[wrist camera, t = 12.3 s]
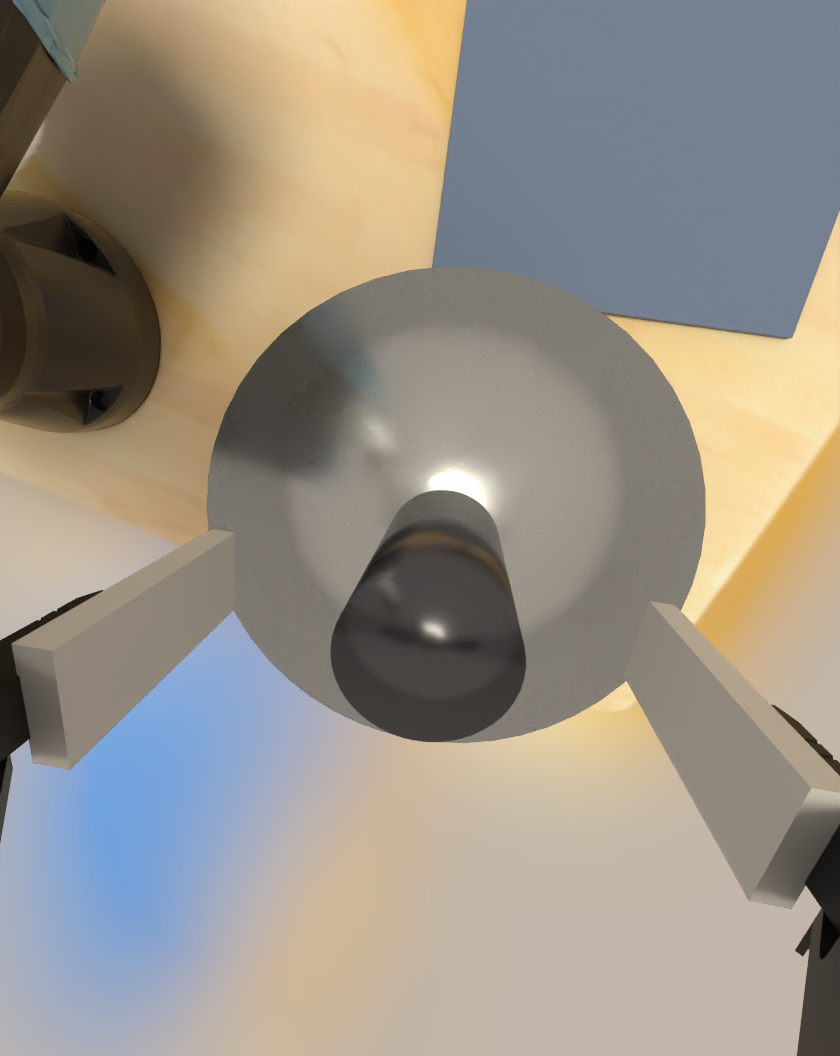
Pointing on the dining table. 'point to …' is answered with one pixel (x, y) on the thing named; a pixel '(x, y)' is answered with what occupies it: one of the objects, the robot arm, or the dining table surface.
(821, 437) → the dining table surface
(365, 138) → the dining table surface
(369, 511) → the cake dome
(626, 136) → the mat
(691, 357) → the dining table surface
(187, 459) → the dining table surface
